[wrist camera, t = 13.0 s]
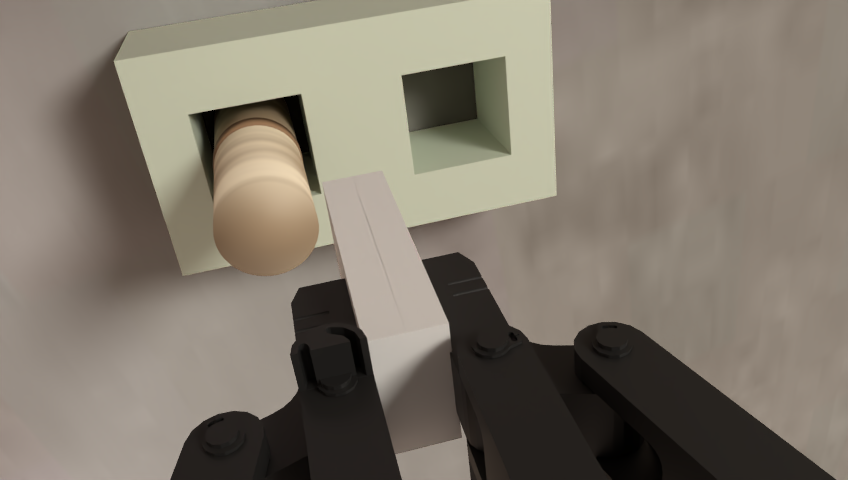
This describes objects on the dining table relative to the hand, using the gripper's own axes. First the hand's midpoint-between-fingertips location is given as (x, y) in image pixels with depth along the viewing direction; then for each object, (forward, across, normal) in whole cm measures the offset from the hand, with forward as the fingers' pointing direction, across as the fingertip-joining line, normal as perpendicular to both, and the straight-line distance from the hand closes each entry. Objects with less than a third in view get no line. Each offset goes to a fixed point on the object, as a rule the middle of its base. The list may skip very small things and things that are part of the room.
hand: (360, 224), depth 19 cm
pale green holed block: (+24, +2, -5) cm, 24 cm away
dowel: (+24, -3, -5) cm, 24 cm away
